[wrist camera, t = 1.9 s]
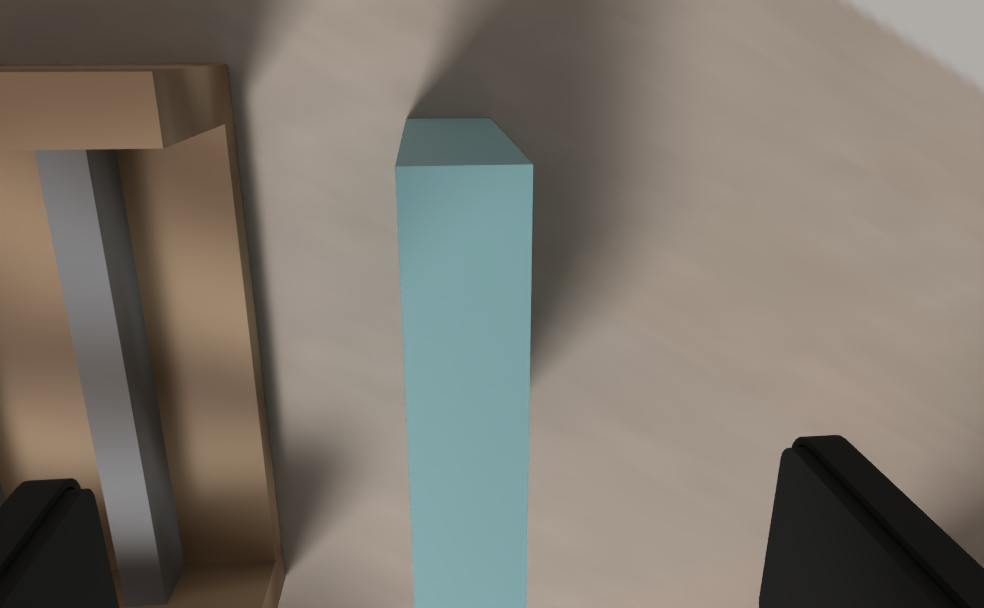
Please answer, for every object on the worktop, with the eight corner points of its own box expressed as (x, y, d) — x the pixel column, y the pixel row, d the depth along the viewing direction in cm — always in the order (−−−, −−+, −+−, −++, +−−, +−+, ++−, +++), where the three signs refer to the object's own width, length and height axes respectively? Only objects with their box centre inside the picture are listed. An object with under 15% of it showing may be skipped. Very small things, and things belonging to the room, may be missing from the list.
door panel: (490, 426, 25) (525, 624, 16) (418, 429, 25) (416, 631, 16) (489, 117, 22) (533, 164, 13) (406, 118, 21) (395, 166, 13)
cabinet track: (284, 577, 26) (246, 726, 20) (-80, 599, 25) (-228, 761, 19) (227, 64, 20) (151, 71, 15) (-246, 66, 19) (-521, 74, 14)
